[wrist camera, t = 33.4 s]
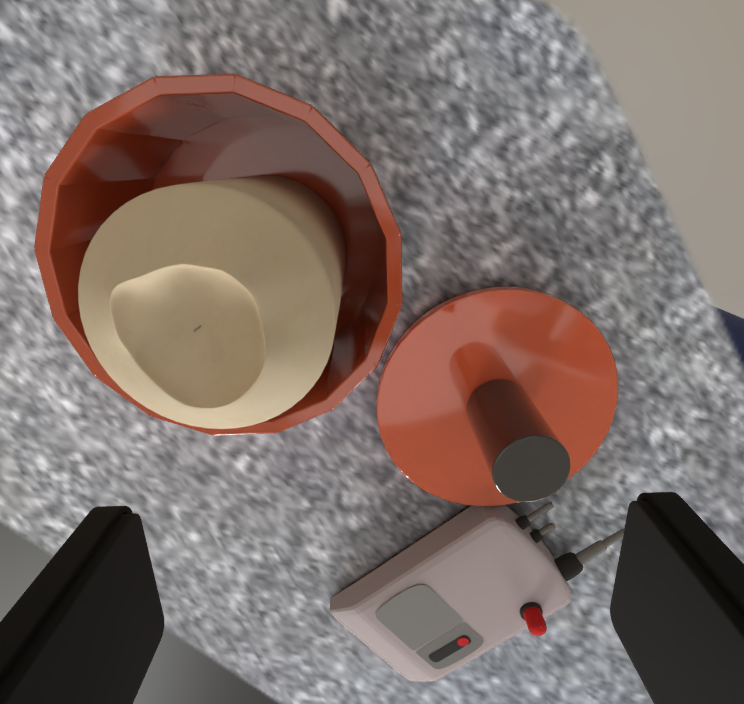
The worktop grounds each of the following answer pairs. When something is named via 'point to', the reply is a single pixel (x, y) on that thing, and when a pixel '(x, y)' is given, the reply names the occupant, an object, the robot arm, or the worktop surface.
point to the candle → (215, 297)
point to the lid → (497, 396)
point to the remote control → (461, 591)
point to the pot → (214, 162)
